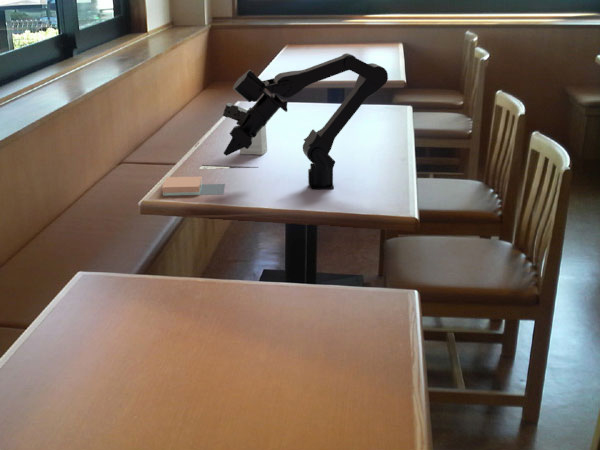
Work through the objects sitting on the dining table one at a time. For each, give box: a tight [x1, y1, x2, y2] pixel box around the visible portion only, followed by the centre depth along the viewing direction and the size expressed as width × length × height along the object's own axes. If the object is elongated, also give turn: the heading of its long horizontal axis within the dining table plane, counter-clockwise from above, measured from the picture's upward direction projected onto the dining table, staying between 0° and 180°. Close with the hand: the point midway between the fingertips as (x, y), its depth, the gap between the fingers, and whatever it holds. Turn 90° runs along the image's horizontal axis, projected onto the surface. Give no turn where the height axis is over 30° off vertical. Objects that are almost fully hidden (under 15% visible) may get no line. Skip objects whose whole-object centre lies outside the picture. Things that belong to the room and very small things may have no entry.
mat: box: [173, 183, 226, 196], centre depth 188 cm, size 14×9×1 cm, turn 93°
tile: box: [161, 176, 203, 197], centre depth 187 cm, size 2×9×10 cm
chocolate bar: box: [198, 164, 259, 170], centre depth 206 cm, size 9×1×18 cm
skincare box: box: [237, 107, 268, 156], centre depth 223 cm, size 8×6×15 cm
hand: (224, 154), depth 185 cm, fingers closed
